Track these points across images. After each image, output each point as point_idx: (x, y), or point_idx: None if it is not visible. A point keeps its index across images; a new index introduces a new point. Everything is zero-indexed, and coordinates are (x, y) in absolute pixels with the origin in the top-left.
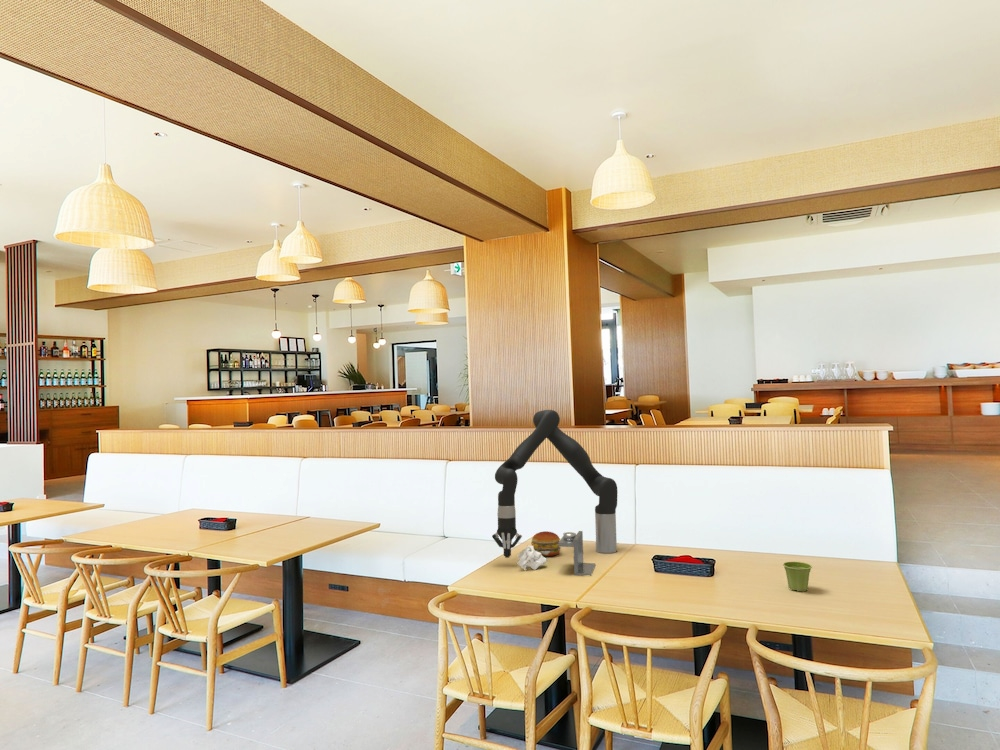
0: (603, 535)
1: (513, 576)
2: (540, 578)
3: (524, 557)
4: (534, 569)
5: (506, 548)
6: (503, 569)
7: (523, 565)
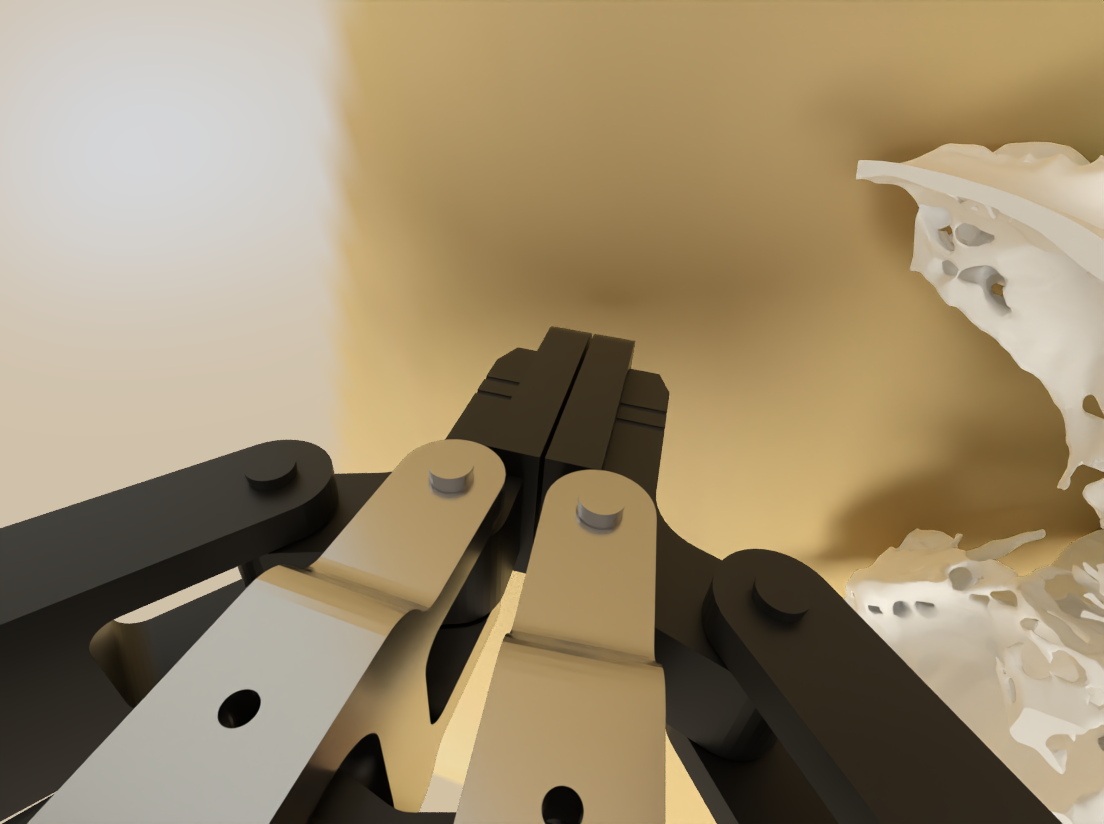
0: None
1: None
2: None
3: None
4: (1102, 544)
5: (517, 546)
6: None
7: (904, 603)
